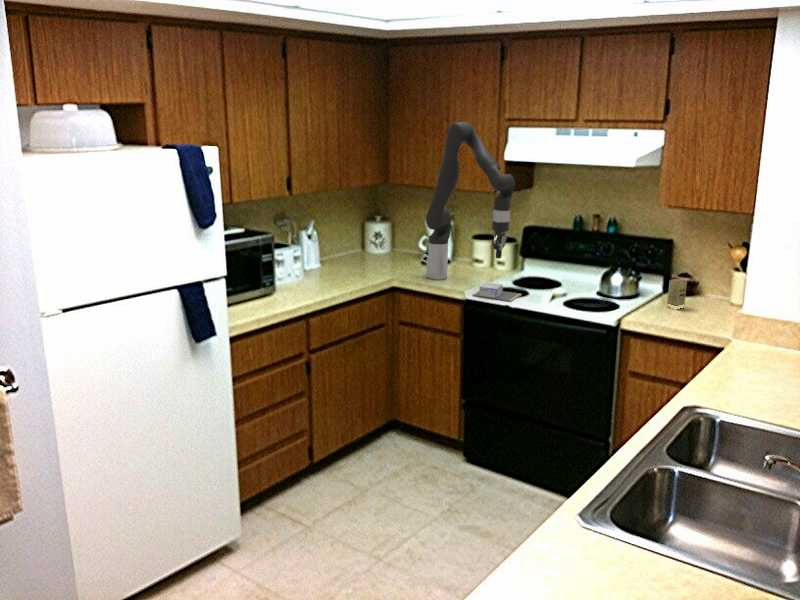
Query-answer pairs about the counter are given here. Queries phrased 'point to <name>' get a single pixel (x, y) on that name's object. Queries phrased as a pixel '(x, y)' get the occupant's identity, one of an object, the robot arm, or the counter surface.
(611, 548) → the counter surface
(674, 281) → the shoe polish box
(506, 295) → the mat
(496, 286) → the medicine box
